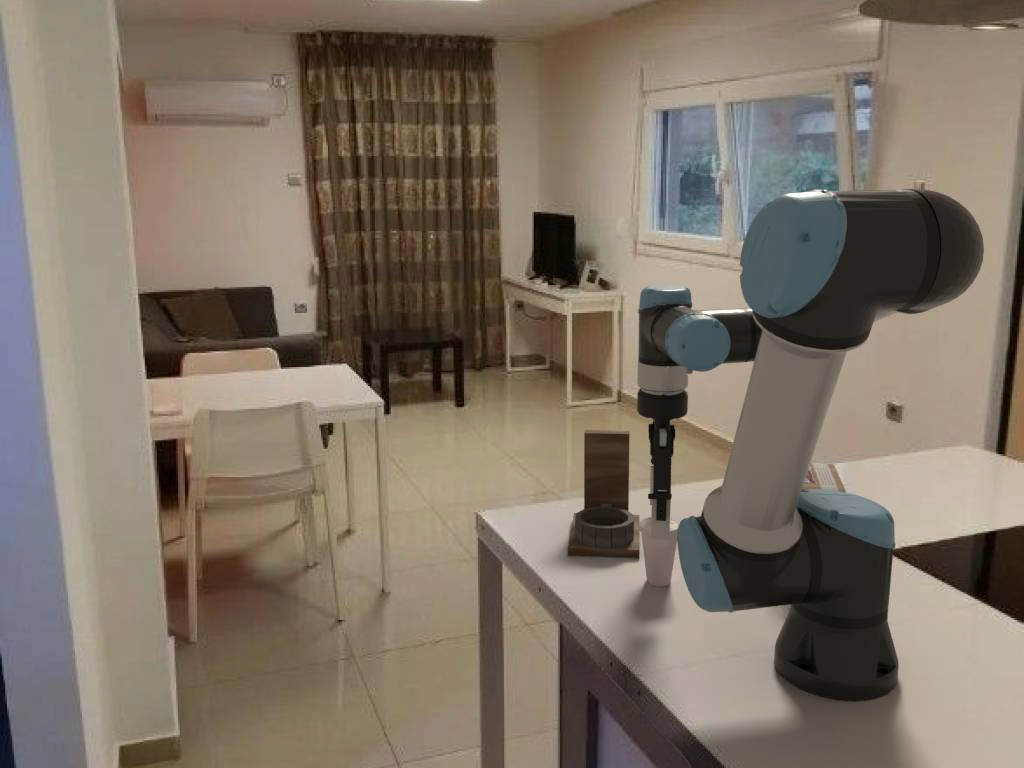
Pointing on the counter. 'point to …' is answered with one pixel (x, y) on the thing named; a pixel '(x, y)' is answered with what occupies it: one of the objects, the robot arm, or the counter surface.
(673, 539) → the smoothie
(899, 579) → the counter surface
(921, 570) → the counter surface
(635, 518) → the cup bracket
